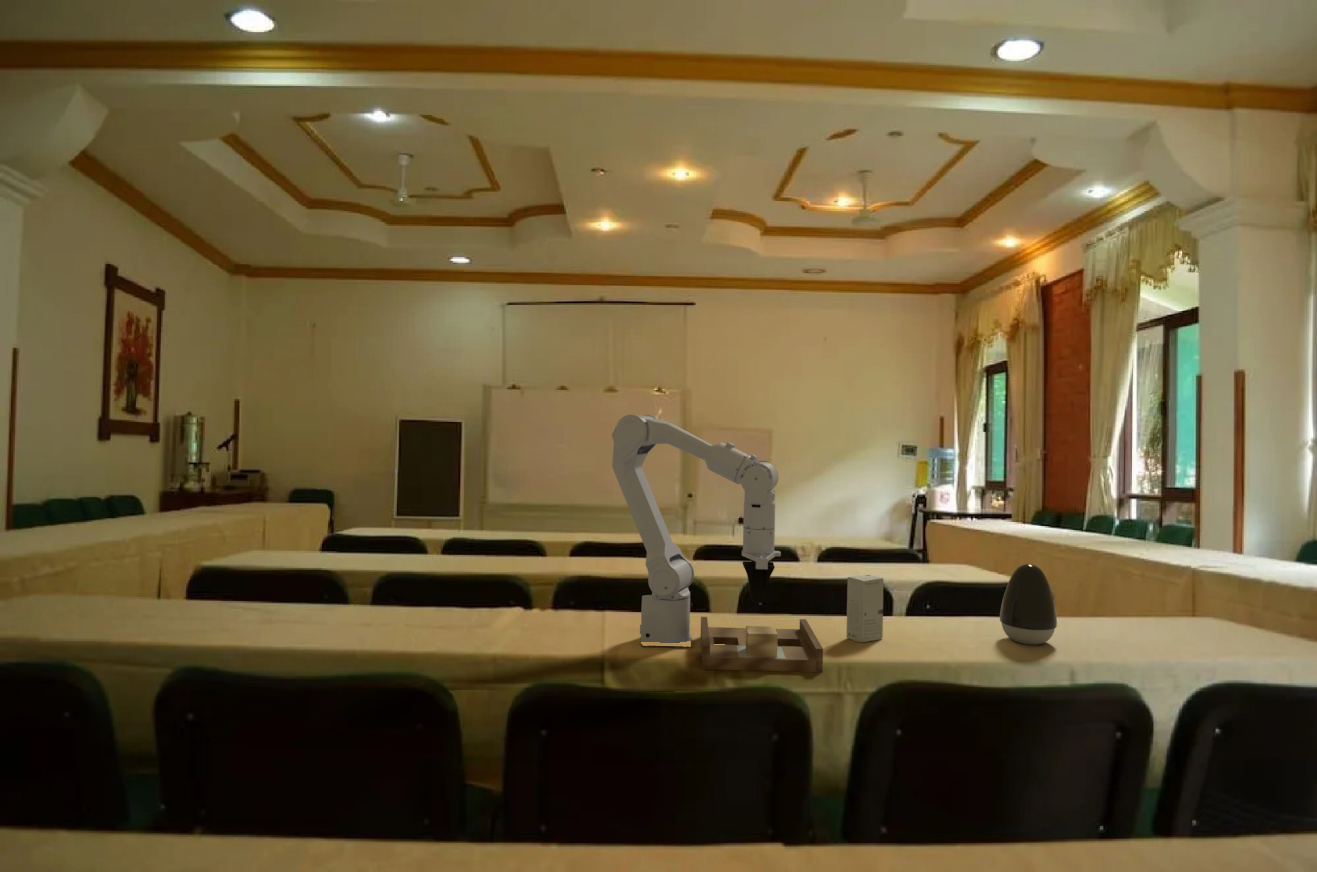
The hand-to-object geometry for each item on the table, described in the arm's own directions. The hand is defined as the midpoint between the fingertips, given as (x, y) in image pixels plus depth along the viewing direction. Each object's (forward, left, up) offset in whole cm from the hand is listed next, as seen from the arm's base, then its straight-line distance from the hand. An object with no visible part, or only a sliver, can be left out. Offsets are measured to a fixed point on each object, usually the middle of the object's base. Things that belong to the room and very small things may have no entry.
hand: (757, 601), depth 149 cm
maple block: (0, -7, -7) cm, 10 cm away
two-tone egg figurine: (+54, +12, -10) cm, 56 cm away
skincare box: (+22, +11, -10) cm, 27 cm away
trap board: (0, -1, -9) cm, 9 cm away
